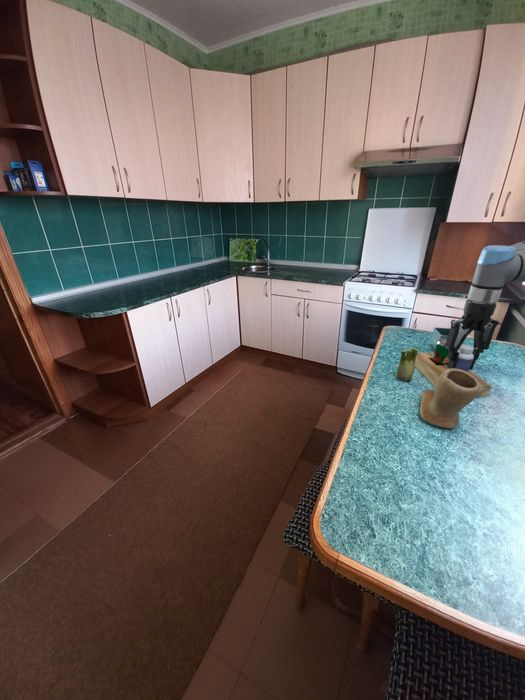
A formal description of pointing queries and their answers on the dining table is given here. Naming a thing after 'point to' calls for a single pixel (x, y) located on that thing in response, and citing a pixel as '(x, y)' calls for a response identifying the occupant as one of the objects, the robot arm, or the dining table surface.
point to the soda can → (440, 353)
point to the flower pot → (440, 334)
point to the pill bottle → (464, 358)
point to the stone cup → (448, 398)
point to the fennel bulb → (407, 365)
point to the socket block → (434, 371)
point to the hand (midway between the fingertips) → (459, 368)
